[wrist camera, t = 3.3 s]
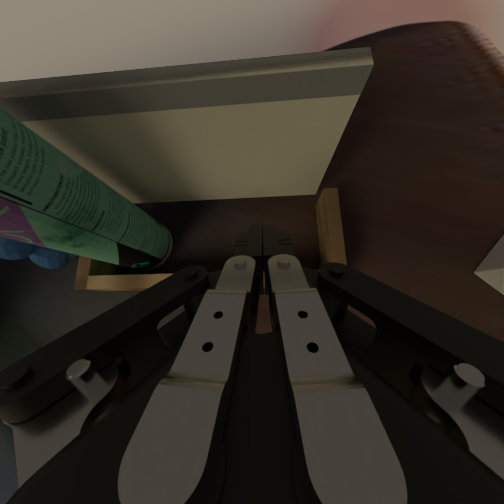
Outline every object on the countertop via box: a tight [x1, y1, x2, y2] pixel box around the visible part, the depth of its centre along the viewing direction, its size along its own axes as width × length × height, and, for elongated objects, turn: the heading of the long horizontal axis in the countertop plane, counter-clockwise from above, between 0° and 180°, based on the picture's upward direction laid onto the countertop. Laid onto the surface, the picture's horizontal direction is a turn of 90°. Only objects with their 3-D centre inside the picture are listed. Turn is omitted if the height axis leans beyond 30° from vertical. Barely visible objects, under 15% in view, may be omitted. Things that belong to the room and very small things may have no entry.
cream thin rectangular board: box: [0, 47, 374, 203], centre depth 17 cm, size 21×1×13 cm, turn 91°
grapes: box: [0, 237, 79, 269], centre depth 18 cm, size 12×7×12 cm, turn 22°
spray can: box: [0, 108, 173, 270], centre depth 13 cm, size 6×6×20 cm
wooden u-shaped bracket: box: [73, 188, 347, 291], centre depth 21 cm, size 24×9×4 cm, turn 91°
